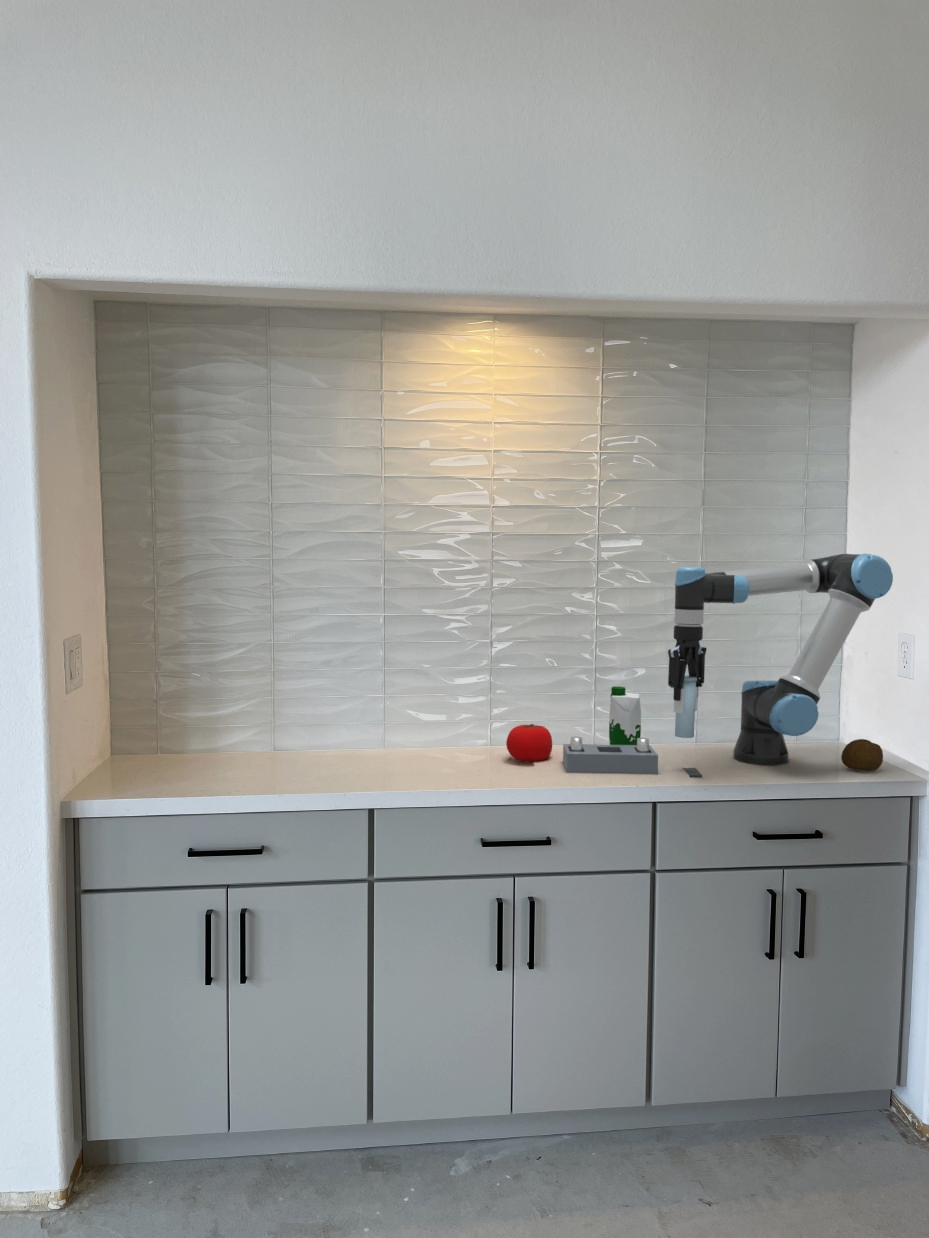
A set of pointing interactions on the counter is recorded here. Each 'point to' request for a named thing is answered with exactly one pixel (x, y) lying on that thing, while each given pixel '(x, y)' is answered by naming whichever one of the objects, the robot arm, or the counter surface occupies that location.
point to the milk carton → (624, 717)
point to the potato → (862, 755)
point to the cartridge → (687, 710)
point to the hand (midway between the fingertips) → (685, 711)
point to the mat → (693, 772)
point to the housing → (610, 759)
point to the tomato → (529, 743)
